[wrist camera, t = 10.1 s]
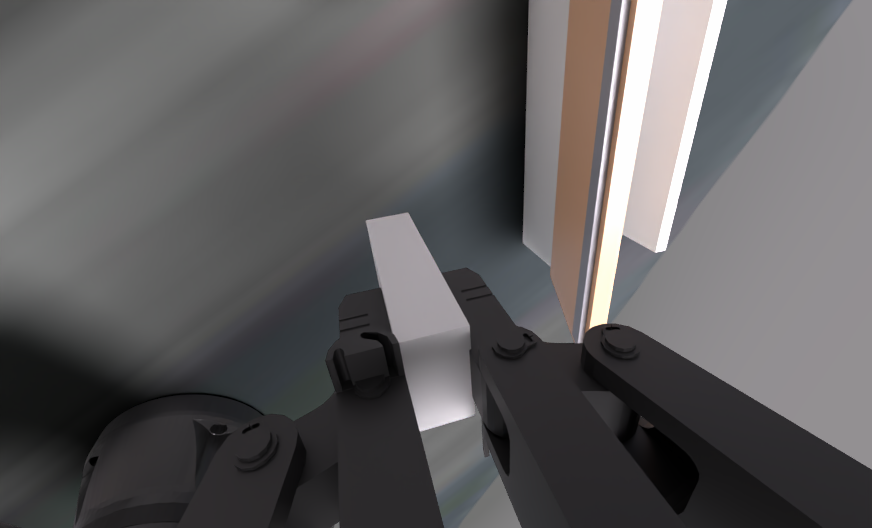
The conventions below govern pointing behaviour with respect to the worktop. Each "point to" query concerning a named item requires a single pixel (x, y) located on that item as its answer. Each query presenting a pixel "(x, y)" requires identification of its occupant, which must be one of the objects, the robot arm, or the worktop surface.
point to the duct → (660, 128)
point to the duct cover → (598, 149)
